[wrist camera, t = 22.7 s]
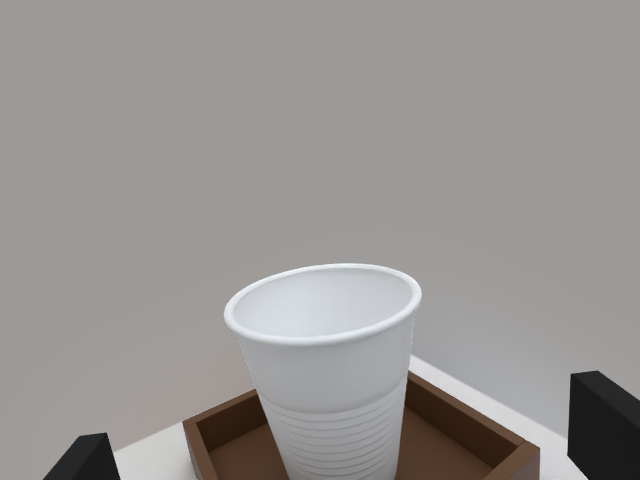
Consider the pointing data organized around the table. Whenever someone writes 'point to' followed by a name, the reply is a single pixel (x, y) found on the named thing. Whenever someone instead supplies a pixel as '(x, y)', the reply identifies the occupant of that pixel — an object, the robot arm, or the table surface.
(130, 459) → the table surface
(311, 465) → the cup
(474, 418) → the tray
